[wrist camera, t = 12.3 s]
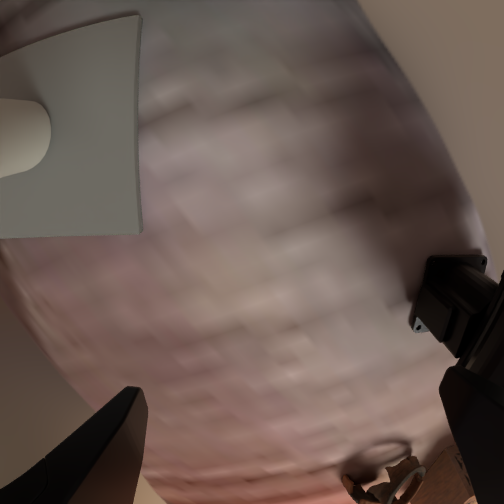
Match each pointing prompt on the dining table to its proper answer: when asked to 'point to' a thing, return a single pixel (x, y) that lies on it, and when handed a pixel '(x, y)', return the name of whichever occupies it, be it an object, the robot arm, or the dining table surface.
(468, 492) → the tissue box cover
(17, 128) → the beverage can
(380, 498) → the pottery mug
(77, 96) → the rubber mat
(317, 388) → the dining table surface
